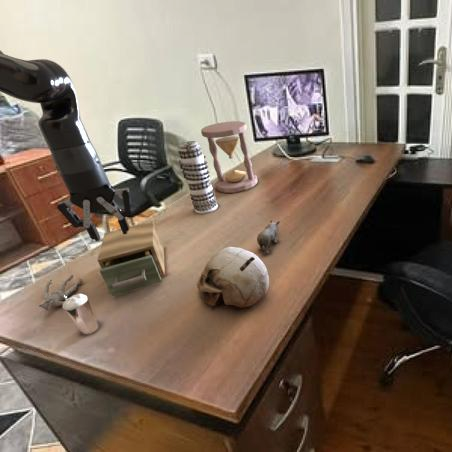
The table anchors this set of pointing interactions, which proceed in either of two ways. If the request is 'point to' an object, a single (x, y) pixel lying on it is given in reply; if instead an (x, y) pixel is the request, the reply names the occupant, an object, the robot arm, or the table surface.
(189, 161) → the leaning tower model
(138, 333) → the table surface
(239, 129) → the hourglass
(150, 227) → the cabinet
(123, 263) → the drawer
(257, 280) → the coin bank
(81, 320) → the milkshake
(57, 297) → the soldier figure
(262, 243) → the rhino figurine
